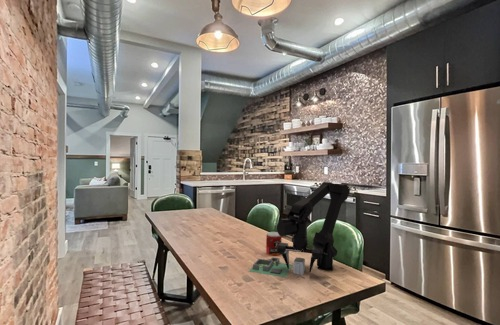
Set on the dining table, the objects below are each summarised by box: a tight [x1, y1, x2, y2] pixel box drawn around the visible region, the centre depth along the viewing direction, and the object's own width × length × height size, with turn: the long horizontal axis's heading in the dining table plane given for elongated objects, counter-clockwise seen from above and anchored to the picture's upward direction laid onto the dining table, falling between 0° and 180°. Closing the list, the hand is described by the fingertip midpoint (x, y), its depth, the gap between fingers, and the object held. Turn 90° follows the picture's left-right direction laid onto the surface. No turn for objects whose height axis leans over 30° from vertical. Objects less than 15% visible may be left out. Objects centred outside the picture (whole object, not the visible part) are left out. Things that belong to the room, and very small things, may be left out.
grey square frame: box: [252, 258, 273, 272], centre depth 123 cm, size 7×8×2 cm
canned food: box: [265, 231, 283, 257], centre depth 142 cm, size 8×8×11 cm
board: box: [248, 256, 293, 278], centre depth 123 cm, size 16×15×3 cm
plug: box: [292, 257, 306, 276], centre depth 119 cm, size 4×6×6 cm
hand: (299, 270), depth 119 cm, fingers open, 9 cm apart
